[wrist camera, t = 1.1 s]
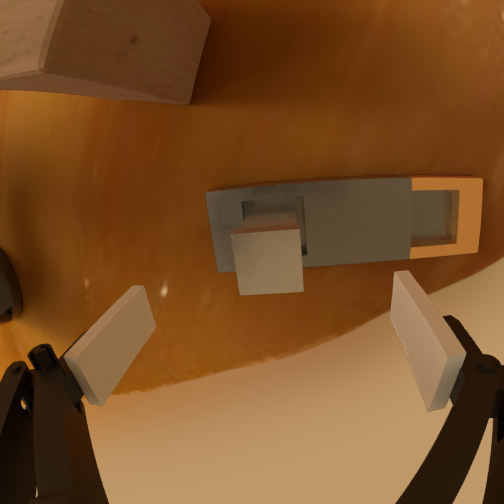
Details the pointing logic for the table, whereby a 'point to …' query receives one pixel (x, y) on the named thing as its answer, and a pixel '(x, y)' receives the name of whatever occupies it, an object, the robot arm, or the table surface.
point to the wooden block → (103, 47)
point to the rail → (360, 216)
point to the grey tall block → (268, 251)
